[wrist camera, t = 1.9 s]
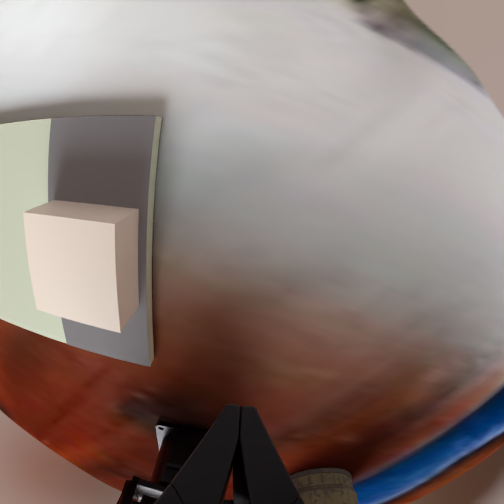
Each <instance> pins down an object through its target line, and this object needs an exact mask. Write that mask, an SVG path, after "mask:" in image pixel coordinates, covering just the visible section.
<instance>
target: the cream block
mask: <svg viewBox="0 0 504 504" xmlns="http://www.w3.org/2000/svg"><path fill="white" fill-rule="evenodd" d="M23 216H24V229H25V239H26V248H27V256H28V263H29V270H30V276H31V282H32V288H33V293H34V298H35V303H36V307H37V310H40V311H43V312H46V313H49V314H52V315H56V316H59V317H62V318H66V319H69V320H73V321H76V322H80V323H83V324H87V325H91V326H94V327H98V328H102V329H106V330H110V331H114V332H118V333H121V332H122V330H123V329H124V327H125V326H126V324H127V323H128V321H129V320H130V318H131V317H132V315H133V314H134V312H135V311H136V309H137V308H138V306H139V290H138V221H139V209H134V208H125V207H116V206H107V205H98V204H89V203H79V202H69V201H59V200H52V201H50V202H47V203H45V204H42V205H40V206H37V207H35V208H32V209H30V210H27V211H25V212H23Z"/></svg>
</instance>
